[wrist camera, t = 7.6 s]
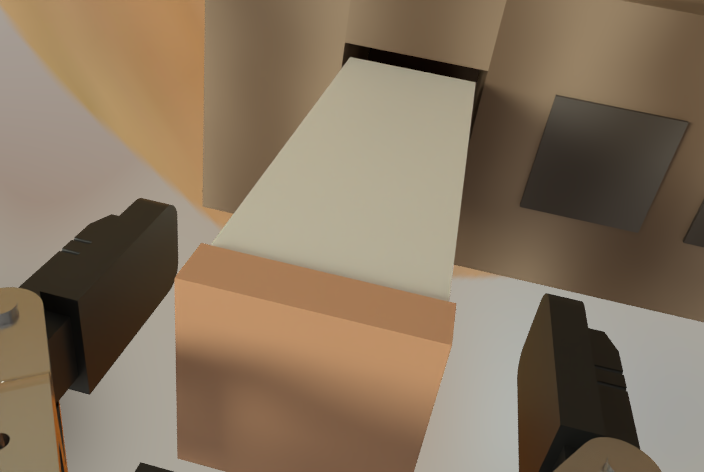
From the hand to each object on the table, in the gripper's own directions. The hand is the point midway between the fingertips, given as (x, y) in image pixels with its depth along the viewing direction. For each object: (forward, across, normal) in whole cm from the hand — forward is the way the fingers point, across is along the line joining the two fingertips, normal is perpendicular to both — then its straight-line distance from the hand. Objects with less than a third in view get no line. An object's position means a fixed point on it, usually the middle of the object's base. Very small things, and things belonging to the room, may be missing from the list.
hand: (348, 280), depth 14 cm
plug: (+9, 0, 0) cm, 9 cm away
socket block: (+15, -4, 0) cm, 16 cm away
